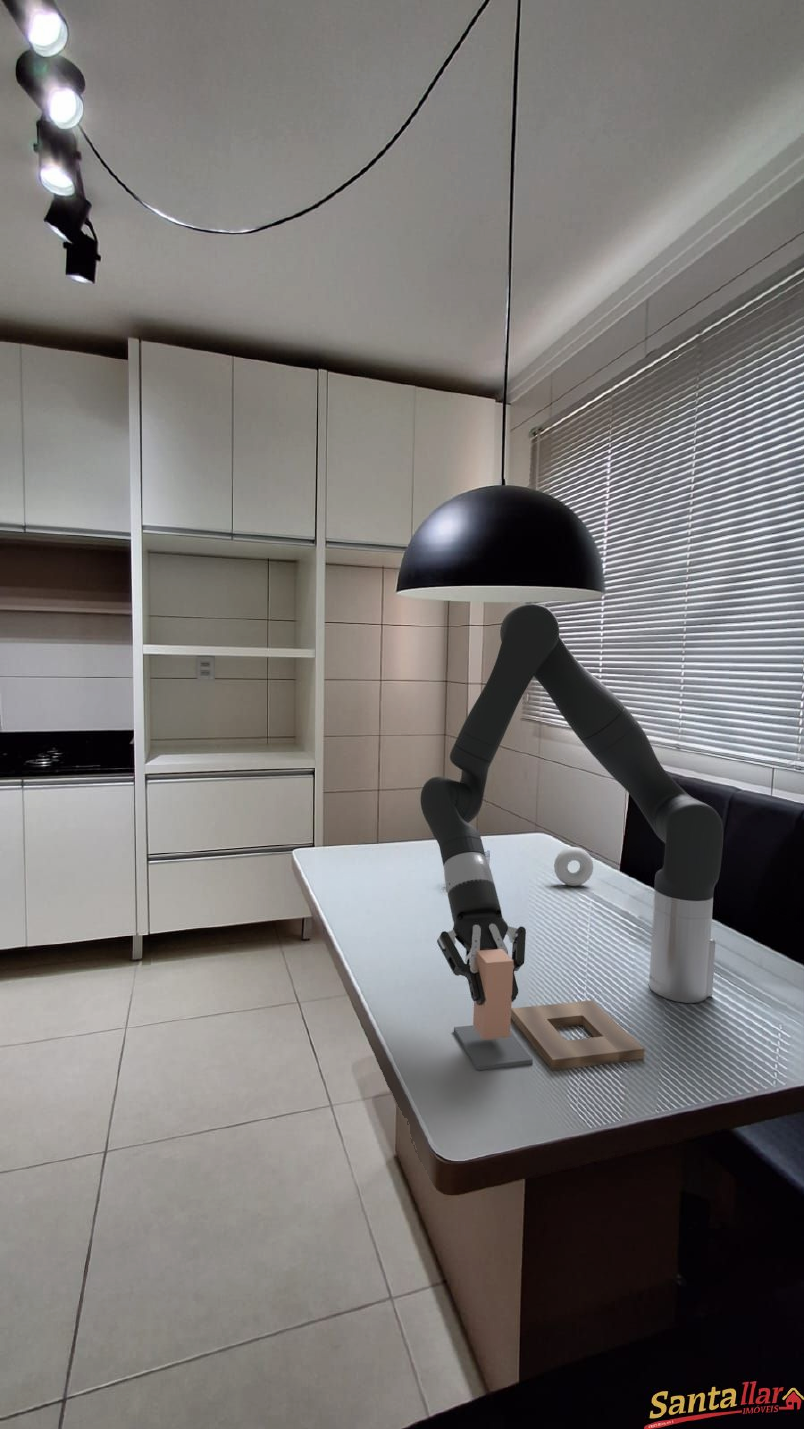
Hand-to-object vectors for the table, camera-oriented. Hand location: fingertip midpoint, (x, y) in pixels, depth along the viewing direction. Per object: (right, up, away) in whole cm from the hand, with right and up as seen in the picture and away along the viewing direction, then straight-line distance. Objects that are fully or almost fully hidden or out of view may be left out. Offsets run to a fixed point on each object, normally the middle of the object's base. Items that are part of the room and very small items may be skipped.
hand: (496, 1001), depth 94 cm
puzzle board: (+12, -8, +5) cm, 15 cm away
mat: (-1, -7, +2) cm, 8 cm away
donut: (+30, -4, +76) cm, 82 cm away
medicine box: (+5, -3, +75) cm, 75 cm away
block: (-1, -5, +2) cm, 5 cm away
